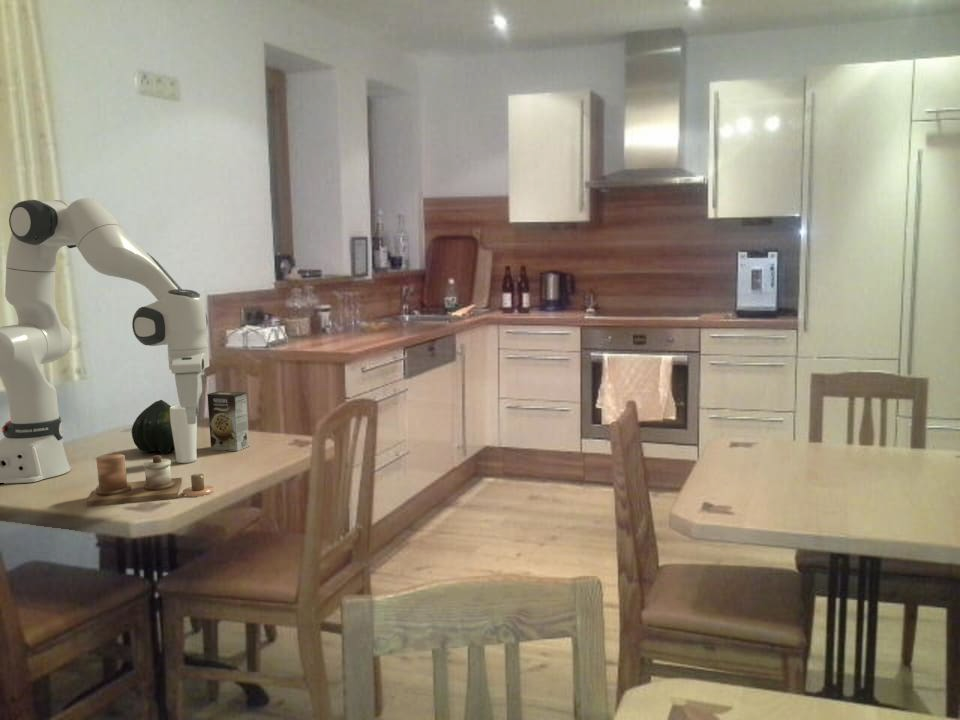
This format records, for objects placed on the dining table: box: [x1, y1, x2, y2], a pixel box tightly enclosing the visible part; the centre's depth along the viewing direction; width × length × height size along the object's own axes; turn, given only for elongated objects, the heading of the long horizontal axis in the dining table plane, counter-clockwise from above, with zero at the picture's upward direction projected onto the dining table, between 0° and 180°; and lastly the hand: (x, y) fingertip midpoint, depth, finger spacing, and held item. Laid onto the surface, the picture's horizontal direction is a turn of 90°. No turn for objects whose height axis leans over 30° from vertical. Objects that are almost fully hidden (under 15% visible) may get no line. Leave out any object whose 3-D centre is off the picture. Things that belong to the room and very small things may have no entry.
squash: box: [131, 399, 175, 455], centre depth 245 cm, size 14×15×15 cm
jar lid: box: [182, 473, 215, 497], centre depth 201 cm, size 7×7×4 cm
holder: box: [86, 453, 183, 507], centre depth 201 cm, size 19×14×9 cm
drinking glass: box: [170, 404, 198, 464], centre depth 231 cm, size 7×7×15 cm
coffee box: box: [206, 390, 250, 452], centre depth 245 cm, size 9×6×16 cm
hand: (193, 419), depth 199 cm, fingers open, 8 cm apart
